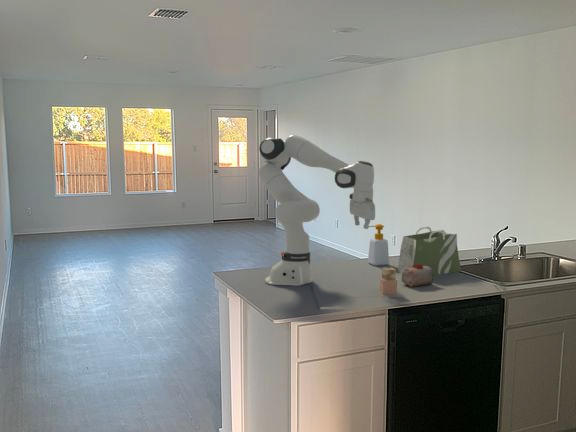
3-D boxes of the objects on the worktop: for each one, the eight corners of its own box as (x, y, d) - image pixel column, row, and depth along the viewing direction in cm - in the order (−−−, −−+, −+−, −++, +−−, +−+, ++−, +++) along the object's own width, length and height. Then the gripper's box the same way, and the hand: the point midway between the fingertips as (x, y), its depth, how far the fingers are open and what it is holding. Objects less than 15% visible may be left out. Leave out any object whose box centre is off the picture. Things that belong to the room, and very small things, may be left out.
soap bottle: (359, 263, 308) (360, 223, 305) (382, 262, 312) (383, 222, 309) (367, 266, 299) (367, 226, 296) (390, 265, 303) (391, 225, 300)
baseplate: (349, 299, 234) (349, 297, 234) (344, 290, 248) (344, 288, 248) (405, 298, 235) (406, 296, 235) (397, 290, 249) (398, 288, 249)
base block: (382, 294, 238) (383, 280, 238) (380, 290, 244) (380, 277, 244) (396, 294, 239) (397, 280, 238) (393, 290, 245) (393, 277, 244)
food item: (410, 288, 254) (411, 267, 252) (399, 284, 261) (400, 263, 259) (434, 285, 260) (434, 264, 258) (422, 281, 267) (423, 261, 265)
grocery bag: (414, 278, 274) (415, 231, 271) (396, 272, 286) (397, 228, 283) (462, 271, 289) (464, 227, 286) (443, 266, 301) (444, 224, 298)
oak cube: (385, 280, 238) (386, 270, 238) (381, 278, 243) (382, 267, 242) (395, 280, 239) (395, 269, 239) (391, 277, 244) (391, 267, 243)
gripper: (379, 199, 244) (377, 230, 246) (360, 194, 264) (358, 223, 266) (366, 199, 243) (364, 231, 245) (347, 194, 262) (346, 223, 264)
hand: (361, 226), depth 255 cm, fingers open, 8 cm apart
